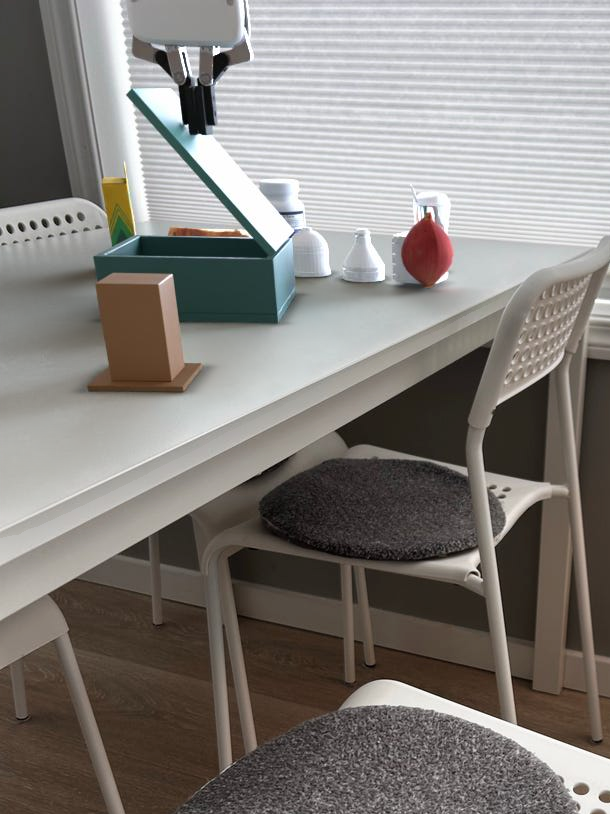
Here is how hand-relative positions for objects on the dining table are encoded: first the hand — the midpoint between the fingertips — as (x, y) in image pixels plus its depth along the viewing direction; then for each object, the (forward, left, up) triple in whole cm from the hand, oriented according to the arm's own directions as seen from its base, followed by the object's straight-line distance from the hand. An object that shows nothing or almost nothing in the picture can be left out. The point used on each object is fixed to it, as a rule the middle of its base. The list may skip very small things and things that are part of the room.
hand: (201, 134), depth 90 cm
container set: (+14, +18, -16) cm, 28 cm away
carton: (0, -28, -15) cm, 32 cm away
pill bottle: (+4, +24, -16) cm, 29 cm away
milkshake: (+22, +24, -16) cm, 36 cm away
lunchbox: (-1, 0, -16) cm, 16 cm away
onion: (+21, +11, -16) cm, 29 cm away
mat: (0, -28, -16) cm, 32 cm away
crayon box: (-15, +23, -16) cm, 32 cm away
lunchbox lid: (+1, 0, -3) cm, 3 cm away
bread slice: (-5, +37, -16) cm, 41 cm away
